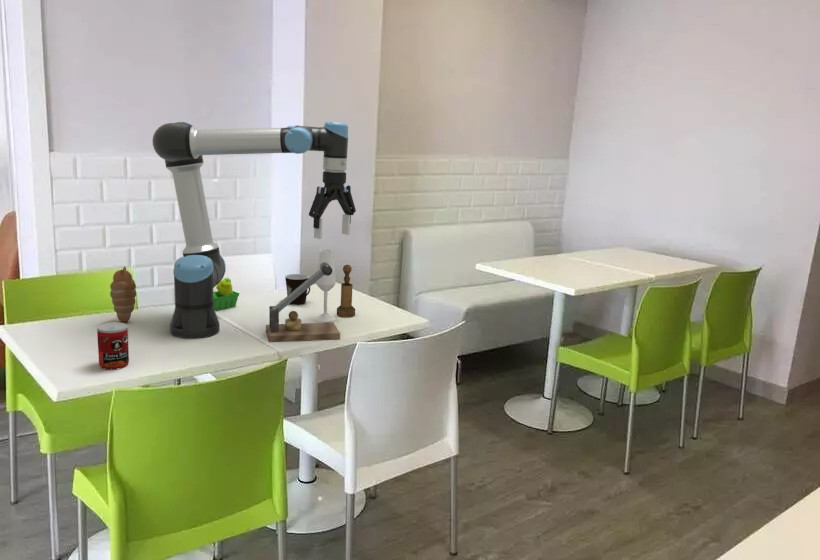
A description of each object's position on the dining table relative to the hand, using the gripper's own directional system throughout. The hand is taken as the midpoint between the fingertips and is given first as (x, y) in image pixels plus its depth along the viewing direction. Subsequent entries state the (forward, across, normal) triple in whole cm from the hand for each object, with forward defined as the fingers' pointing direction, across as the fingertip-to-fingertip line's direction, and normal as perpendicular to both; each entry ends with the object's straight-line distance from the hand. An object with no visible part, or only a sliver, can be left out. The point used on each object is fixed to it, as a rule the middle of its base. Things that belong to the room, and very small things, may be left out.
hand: (332, 236), depth 239 cm
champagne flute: (+30, +4, +5) cm, 31 cm away
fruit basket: (+31, -12, +40) cm, 52 cm away
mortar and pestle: (+30, +12, +3) cm, 33 cm away
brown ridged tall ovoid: (+31, -44, +48) cm, 73 cm away
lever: (+16, -15, -2) cm, 22 cm away
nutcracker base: (+30, -15, -2) cm, 34 cm away
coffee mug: (+30, +11, +25) cm, 41 cm away
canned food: (+31, -69, +16) cm, 78 cm away
